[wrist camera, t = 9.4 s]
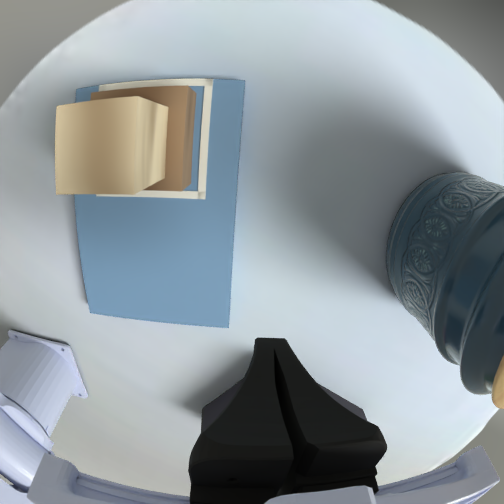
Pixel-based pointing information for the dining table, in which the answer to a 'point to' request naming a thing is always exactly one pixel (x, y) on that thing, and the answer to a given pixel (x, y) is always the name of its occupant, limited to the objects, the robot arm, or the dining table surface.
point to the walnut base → (169, 129)
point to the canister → (455, 273)
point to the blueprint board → (169, 224)
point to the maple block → (110, 146)
